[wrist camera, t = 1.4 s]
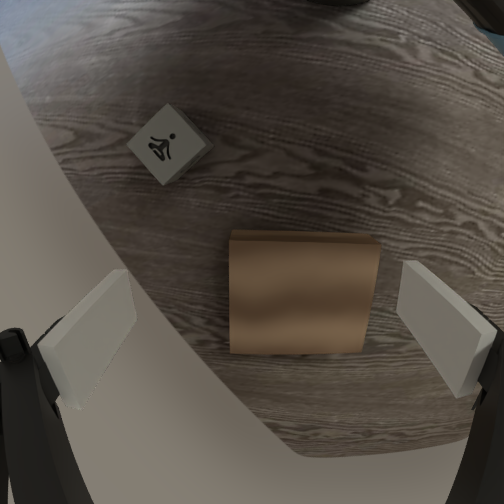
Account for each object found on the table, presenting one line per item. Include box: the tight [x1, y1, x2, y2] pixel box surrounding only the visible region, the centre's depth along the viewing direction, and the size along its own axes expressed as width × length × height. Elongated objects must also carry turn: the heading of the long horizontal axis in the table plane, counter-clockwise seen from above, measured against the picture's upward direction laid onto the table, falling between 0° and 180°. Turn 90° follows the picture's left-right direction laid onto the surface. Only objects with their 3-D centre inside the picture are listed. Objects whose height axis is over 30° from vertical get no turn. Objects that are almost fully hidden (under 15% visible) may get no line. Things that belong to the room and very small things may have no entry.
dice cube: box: [126, 103, 214, 185], centre depth 27 cm, size 5×5×5 cm
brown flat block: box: [229, 229, 381, 354], centre depth 31 cm, size 12×14×4 cm
